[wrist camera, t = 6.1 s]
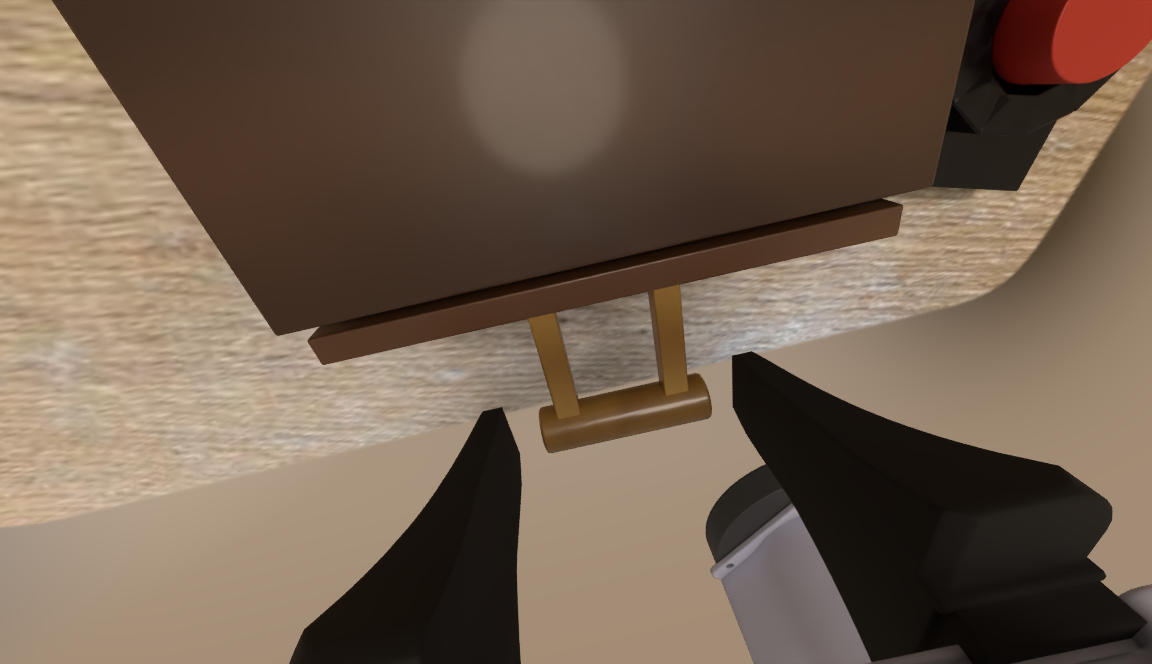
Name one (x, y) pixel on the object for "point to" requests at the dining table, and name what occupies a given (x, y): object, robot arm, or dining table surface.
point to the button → (1069, 39)
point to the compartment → (514, 128)
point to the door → (604, 281)
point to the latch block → (998, 114)
